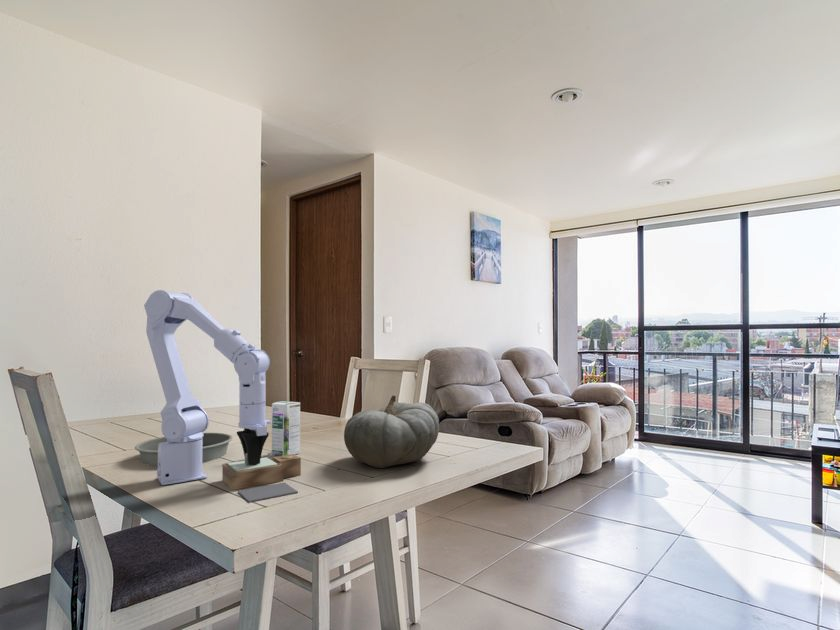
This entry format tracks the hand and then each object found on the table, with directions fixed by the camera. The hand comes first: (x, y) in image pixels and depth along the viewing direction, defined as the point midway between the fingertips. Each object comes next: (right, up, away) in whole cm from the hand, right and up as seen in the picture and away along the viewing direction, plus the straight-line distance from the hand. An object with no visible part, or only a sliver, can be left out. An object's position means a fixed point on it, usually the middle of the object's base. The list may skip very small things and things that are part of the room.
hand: (252, 462), depth 113 cm
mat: (+6, -4, -9) cm, 12 cm away
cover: (0, -1, 0) cm, 1 cm away
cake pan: (-27, -6, +25) cm, 37 cm away
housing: (+2, -4, +1) cm, 5 cm away
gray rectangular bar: (+2, -5, +13) cm, 14 cm away
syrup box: (+1, -5, +25) cm, 25 cm away
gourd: (+31, -5, +15) cm, 35 cm away
